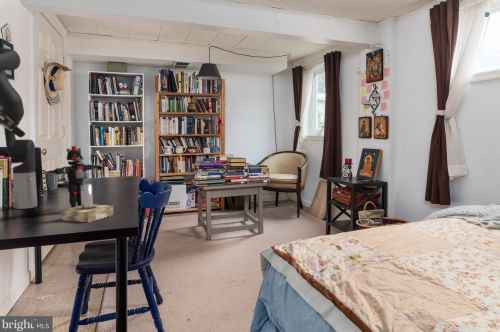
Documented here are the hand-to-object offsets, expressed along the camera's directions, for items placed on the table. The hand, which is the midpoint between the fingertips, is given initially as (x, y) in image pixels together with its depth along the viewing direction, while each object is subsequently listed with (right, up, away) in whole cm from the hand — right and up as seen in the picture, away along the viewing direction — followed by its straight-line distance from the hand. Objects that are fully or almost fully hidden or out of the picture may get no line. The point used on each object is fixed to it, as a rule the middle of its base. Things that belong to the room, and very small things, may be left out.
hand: (22, 135), depth 136 cm
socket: (+22, -34, +9) cm, 41 cm away
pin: (+22, -34, +9) cm, 41 cm away
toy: (+11, -33, +21) cm, 41 cm away
